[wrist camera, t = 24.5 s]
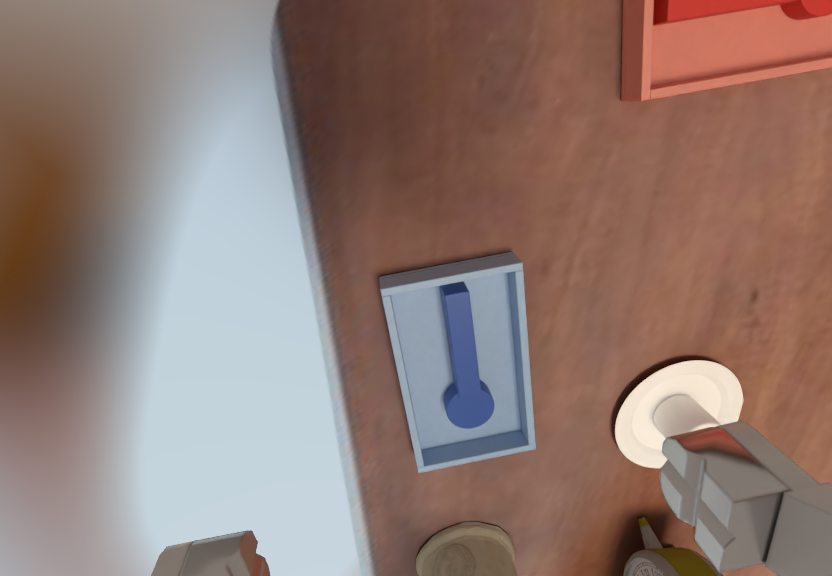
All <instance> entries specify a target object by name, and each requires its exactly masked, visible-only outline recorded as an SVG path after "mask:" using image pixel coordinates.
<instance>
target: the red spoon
mask: <svg viewBox="0 0 832 576" xmlns="http://www.w3.org/2000/svg"><path fill="white" fill-rule="evenodd" d="M776 5H781V8H782V10H783V11H784V13H785V14H786V15H787V16H789V17H790V18H792V19H796V20H805V19H811V18H817V17H822V16H827V15H830V14H832V0H654V11H653V26H657V25H663V24H668V23H674V22H680V21H686V20H692V19H698V18H704V17H710V16H716V15H722V14H728V13H734V12H740V11H746V10H752V9H758V8H764V7H770V6H776Z"/></svg>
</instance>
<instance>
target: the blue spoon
mask: <svg viewBox="0 0 832 576" xmlns="http://www.w3.org/2000/svg"><path fill="white" fill-rule="evenodd" d="M440 292H441V298H442V305H443V312H444V319H445V326H446V332H447V339H448V346H449V353H450V360H451V366H452V373H453V380H454V383H453V384H451V385H450V386H449V387H448V389H447V390H446V392H445V394H444V400H443V401H444V406H445V410H446V414H447V417H448V419H449V420H450V422H451V423H453V424H454V425H455V426H457V427H460V428H465V429H471V428H476V427H479V426H481V425H483V424H484V423H486V422H487V421H488V420H489V419H490V418H491V416H492V414H493V412H494V407H495V404H494V400H493V397H492V395H491V393H490V390H489V388H488V386H487V385H486V384H485V383H484V382H482V381H481V380H480V377H479V369H478V361H477V352H476V344H475V336H474V327H473V319H472V311H471V302H470V294H469V290H468V289H467V287H466V285H465V283H464V281H462V282H457V283H451V284H446V285H441V286H440Z"/></svg>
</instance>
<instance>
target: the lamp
mask: <svg viewBox="0 0 832 576" xmlns="http://www.w3.org/2000/svg"><path fill="white" fill-rule="evenodd" d="M514 560H515V552H514V546H513V543H512V541H511V539H510V537H509V536H508V535H507V534H506V533H505V532H504V531H503V530H502V529H500V528H499V527H497V526H492V525H488V524H484V523H480V522H463V523H460V524H457V525H454V526H452V527H449V528H447V529H444V530H442V531H440V532H439V533H437V534H436V535H434V536H432V538H431V539H430V540H429V541H428V542H427V543H426V544H425V545H424V546H423V547H422V548H421V550H420V552H419V554H418V556H417V558H416V571H417V574H418V576H517V572H516V569H515V565H514Z"/></svg>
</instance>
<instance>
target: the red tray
mask: <svg viewBox="0 0 832 576" xmlns="http://www.w3.org/2000/svg"><path fill="white" fill-rule="evenodd" d="M653 11H654V0H623V30H622V85H621V101H646V100H652V99H657V98H663V97H668V96H674V95H680V94H685V93H691V92H696V91H702V90H708V89H713V88H719V87H724V86H730V85H736V84H741V83H747V82H752V81H758V80H764V79H769V78H775V77H780V76H786V75H792V74H797V73H803V72H808V71H814V70H820V69H825V68H831V67H832V14H830V15H827V16H822V17H817V18H811V19H805V20H796V19H792V18H790V17H789V16H787V15H786V14H785V13H784V11H783V10H782V8H781V5H776V6H770V7H764V8H758V9H752V10H746V11H740V12H734V13H728V14H722V15H716V16H710V17H704V18H698V19H692V20H686V21H680V22H674V23H668V24H663V25H657V26H653Z"/></svg>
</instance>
